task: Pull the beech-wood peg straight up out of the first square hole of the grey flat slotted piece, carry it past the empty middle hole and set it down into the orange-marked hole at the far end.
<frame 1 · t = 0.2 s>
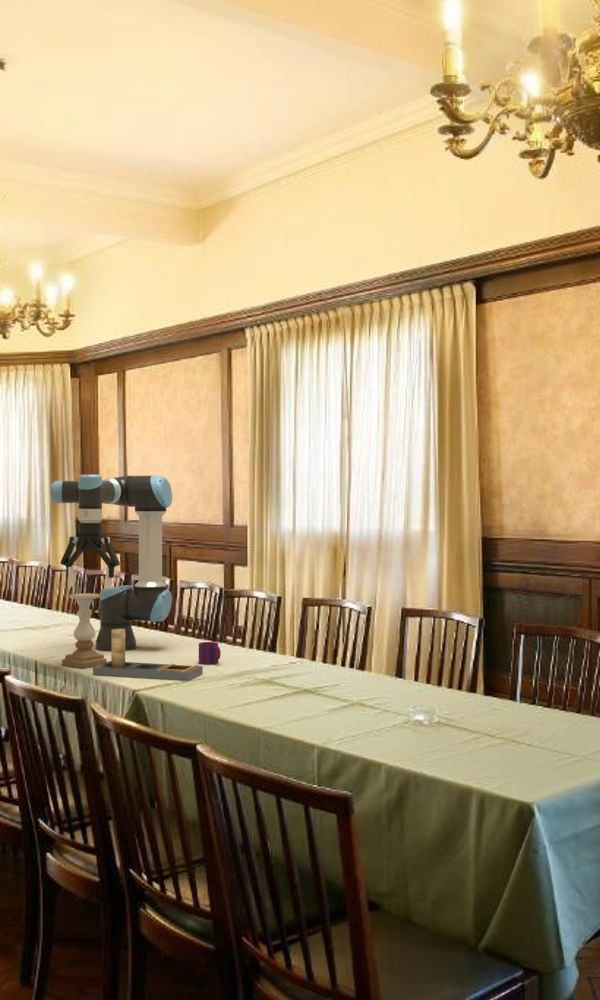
hand: (89, 587, 328), 28 cm above the table, fingers open, 13 cm apart
mug: (210, 664, 346), on the table
candle holder: (84, 665, 343), on the table
peg: (118, 672, 328), resting in grey flat slotted piece
grey flat slotted piece: (147, 674, 326), on the table
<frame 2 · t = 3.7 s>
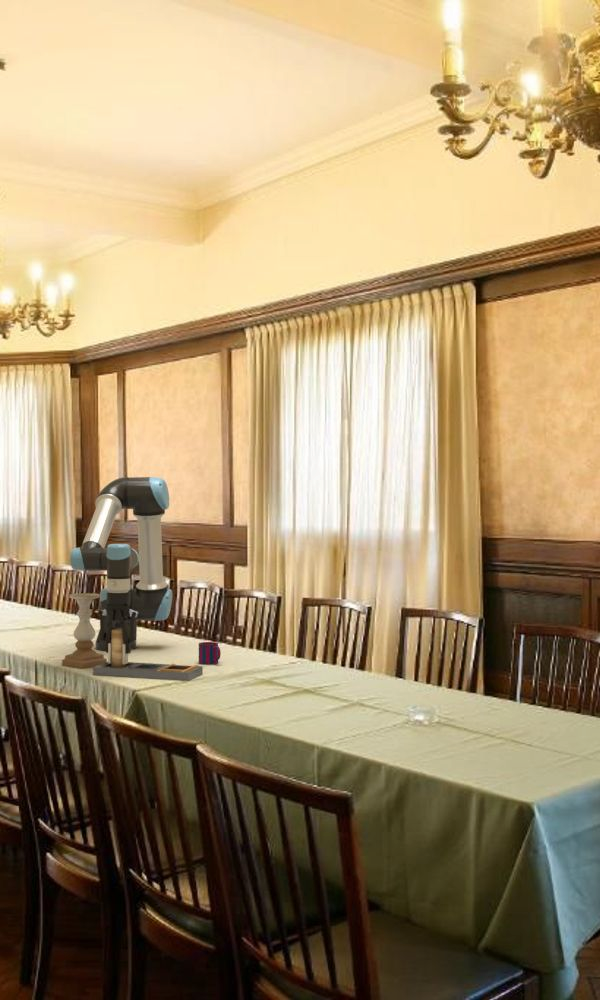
hand: (118, 663, 328), 3 cm above the table, fingers closed on peg, 4 cm apart
peg: (118, 672, 328), resting in grey flat slotted piece, touching gripper
everything else where it was.
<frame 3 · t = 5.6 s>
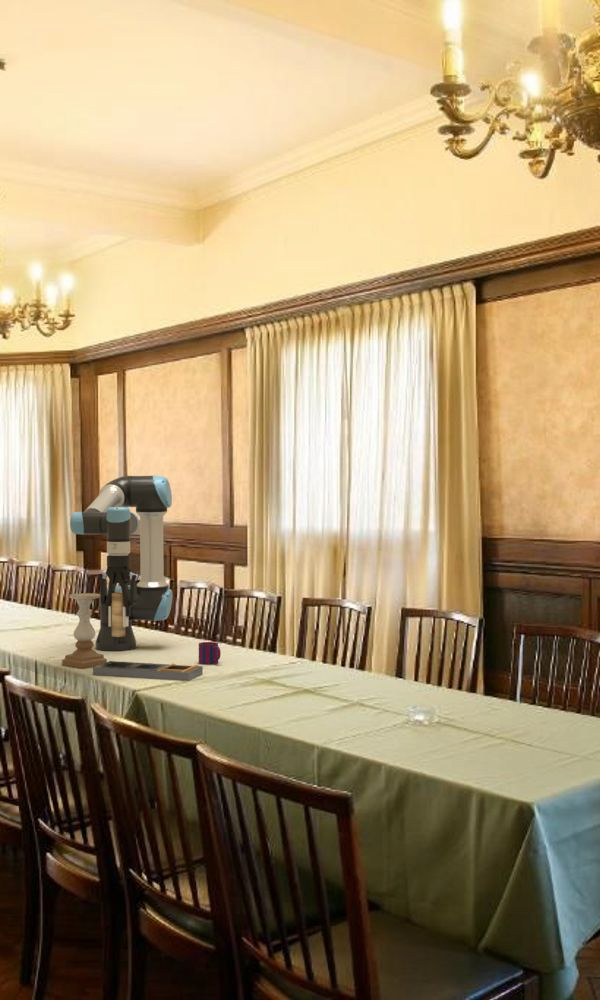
hand: (118, 626, 328), 15 cm above the table, fingers closed on peg, 4 cm apart
peg: (118, 635, 329), point 12 cm above the table, touching gripper
everything else where it was.
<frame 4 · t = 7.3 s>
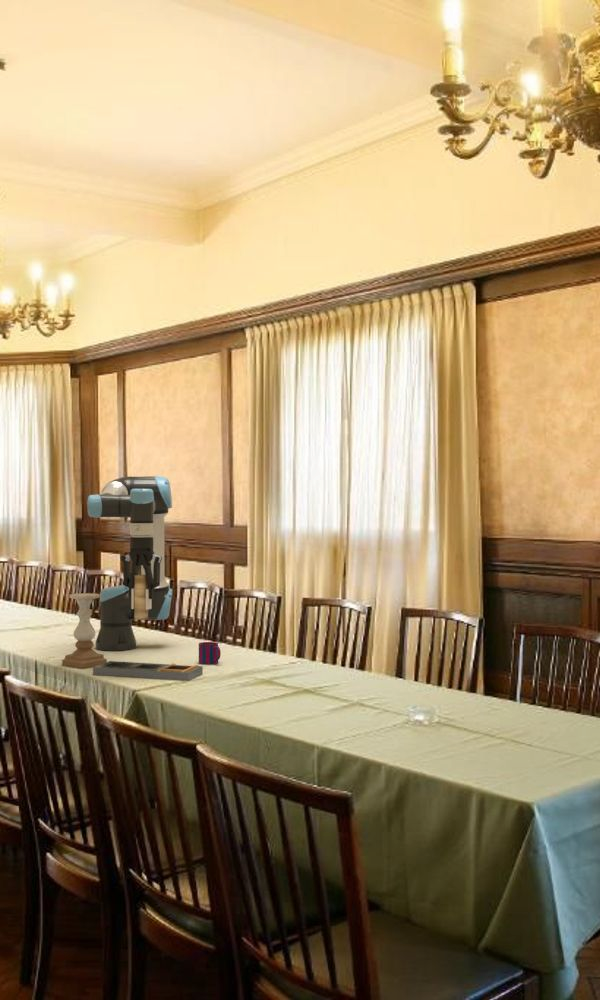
hand: (141, 608, 326), 21 cm above the table, fingers closed on peg, 4 cm apart
peg: (141, 618, 326), point 18 cm above the table, touching gripper
everything else where it was.
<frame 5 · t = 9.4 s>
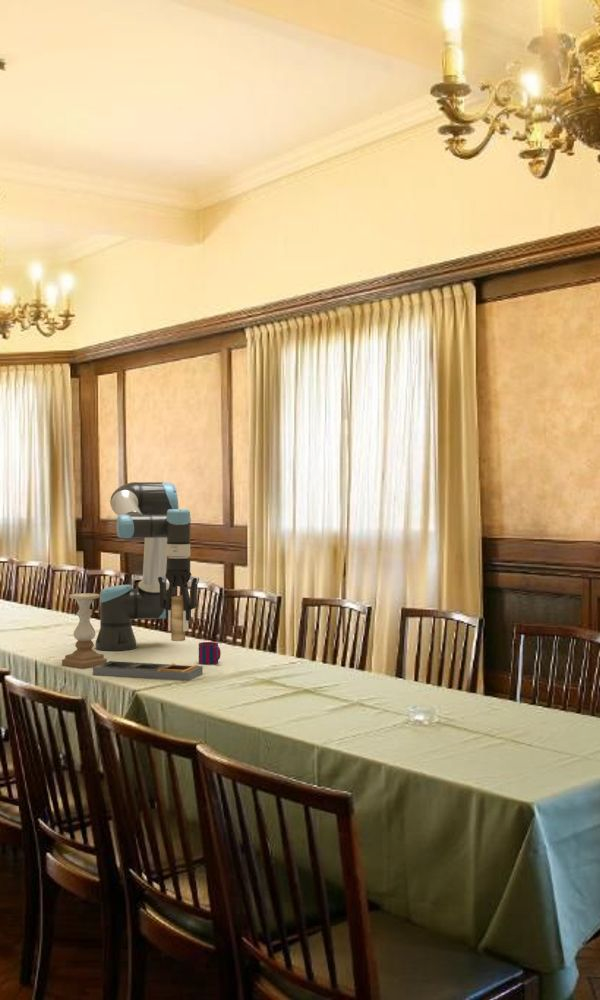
hand: (178, 630, 322), 15 cm above the table, fingers closed on peg, 4 cm apart
peg: (178, 640, 322), point 12 cm above the table, touching gripper
everything else where it was.
when the fingers open (5 cm above the table, at t = 11.4 s): peg stays where it is, resting in grey flat slotted piece.
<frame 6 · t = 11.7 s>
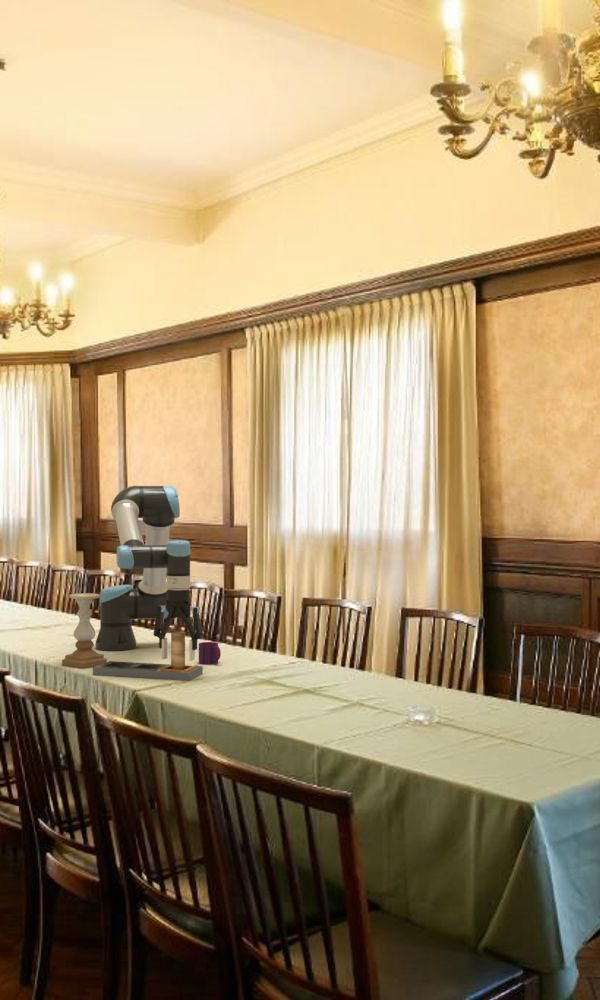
hand: (178, 659, 323), 5 cm above the table, fingers open, 9 cm apart
peg: (178, 676, 323), resting in grey flat slotted piece
everything else where it was.
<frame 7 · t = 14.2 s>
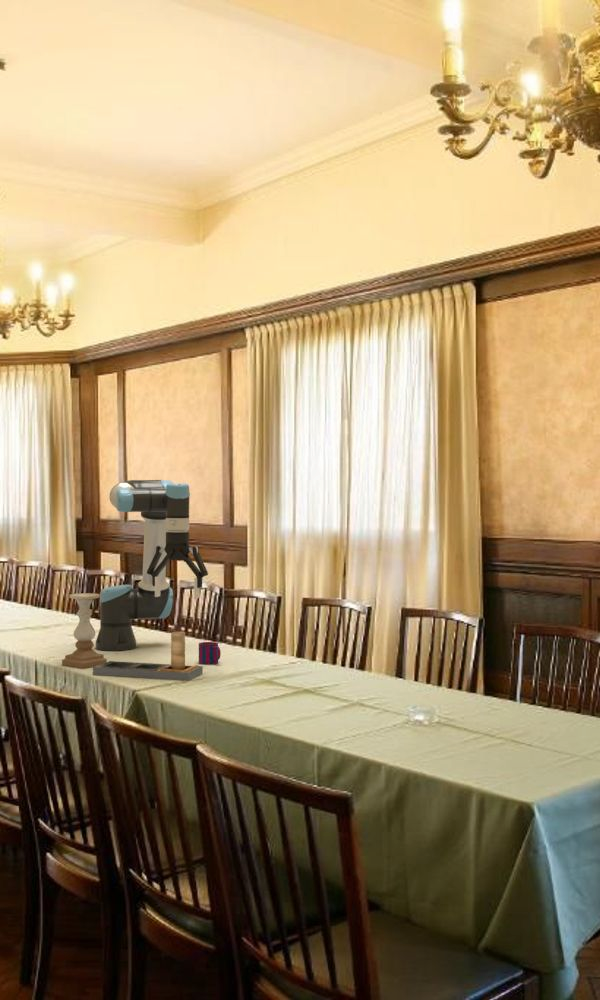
hand: (177, 597, 324), 25 cm above the table, fingers open, 13 cm apart
nothing on the table moved.
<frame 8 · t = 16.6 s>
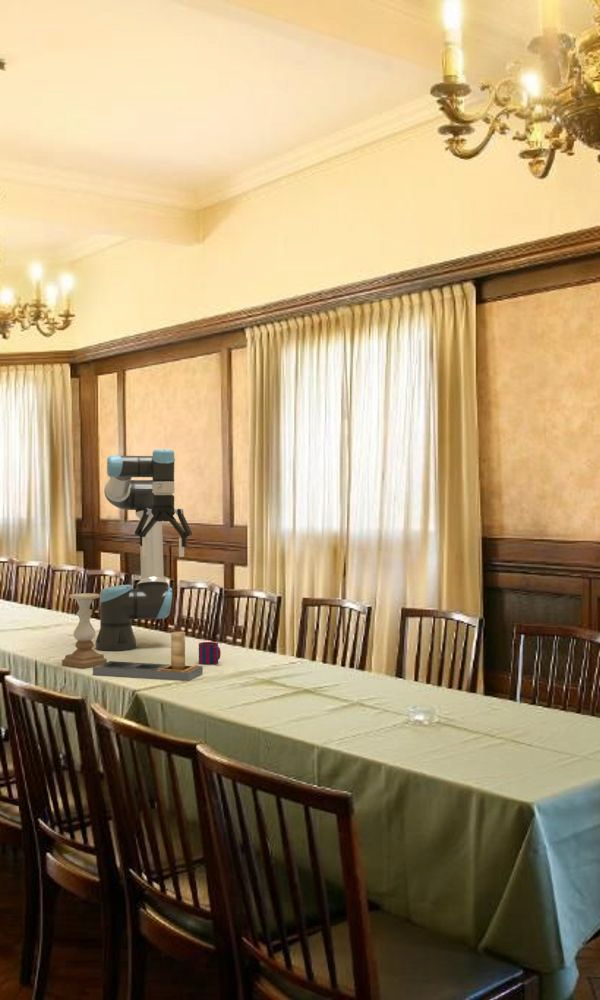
hand: (163, 556, 346), 37 cm above the table, fingers open, 13 cm apart
nothing on the table moved.
at the end: peg 0.0 cm from the target spot on the grey flat slotted piece, point 0.0 cm above the grey flat slotted piece's base; peg tilted 0°; the gripper is holding nothing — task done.
